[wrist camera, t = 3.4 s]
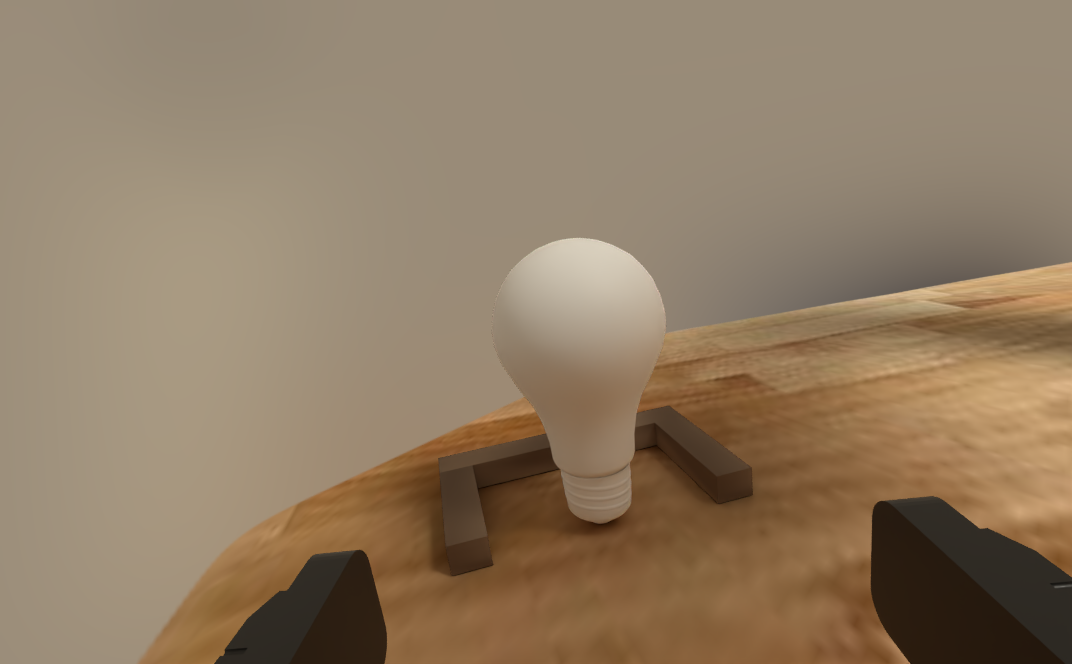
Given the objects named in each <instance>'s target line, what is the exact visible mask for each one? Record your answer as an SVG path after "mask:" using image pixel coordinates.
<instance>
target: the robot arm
mask: <svg viewBox="0 0 1072 664" xmlns="http://www.w3.org/2000/svg"><path fill="white" fill-rule="evenodd" d="M871 593H872V598H873V602H874V606H875V609H876V612H877V614H878V617H879V619H880V621H881V623H882V625H883V627H884V628H885V630H886V632H887V633H888V635H889V636H890V637H891V639H892V640H893V641H894V643H895V644H896V645H897V647H898V648H899V649H900V651H901V652H902V653H903V654H904V656H905V657H906V658H907V660H908V661H909V662H910V664H1072V577H1070V576H1069V575H1068V574H1066V573H1065V572H1064V571H1062V570H1061V569H1059V568H1058V567H1057V566H1055V565H1054V564H1053V563H1051V562H1050V561H1049V560H1047V559H1046V558H1045V557H1043V556H1042V555H1040V554H1039V553H1038V552H1036V551H1035V550H1033V549H1030V548H1028V547H1026V546H1024V545H1022V544H1020V543H1018V542H1016V541H1013V540H1011V539H1009V538H1007V537H1005V536H1003V535H1001V534H999V533H997V532H994V531H992V530H990V529H988V528H985V529H979V528H978V527H977V526H976V525H974V524H973V523H972V522H970V521H969V520H968V519H967V518H965V517H964V516H963V515H961V514H960V513H959V512H958V511H956V510H955V509H954V508H953V507H951V506H950V505H949V504H947V503H946V502H945V501H943V500H942V499H940V498H938V497H934V496H929V497H919V498H908V499H898V500H888V501H879V502H877V504H876V505H875V506H874V509H873V514H872V551H871ZM386 650H387V633H386V626H385V622H384V618H383V614H382V610H381V606H380V602H379V598H378V594H377V590H376V586H375V582H374V578H373V575H372V571H371V567H370V563H369V560H368V557H367V555H366V554H365V552H363V551H362V550H354V551H344V552H333V553H323V554H315V555H313V556H312V557H311V558H310V559H309V560H308V561H307V563H306V564H305V566H304V567H303V569H302V570H301V571H300V573H299V574H298V576H297V577H296V579H295V580H294V582H293V583H292V585H291V586H290V587H289V589H288V590H287V591H279V592H278V593H277V594H276V595H274V596H273V597H272V598H271V599H270V600H269V601H267V602H266V603H265V604H264V605H263V606H262V607H260V608H259V609H258V610H257V611H256V612H255V613H253V614H252V615H251V616H250V617H249V618H248V619H247V620H246V621H245V623H244V624H243V626H242V627H241V628H240V630H239V631H238V632H237V634H236V635H235V636H234V638H233V639H232V640H231V642H230V643H229V645H228V646H227V647H226V649H225V654H224V656H220V657H219V658H218V659H217V661H216V662H215V664H384V663H385V658H386Z"/></svg>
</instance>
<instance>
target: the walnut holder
mask: <svg viewBox="0 0 1072 664" xmlns="http://www.w3.org/2000/svg"><path fill="white" fill-rule="evenodd" d="M634 440H635V450H638V449H642V448H646V447H651V446H655V445H657V446H658V447H659V448H660V449H661V450H663V451H664V452H665V453H666V454H667V455H668V456H669V457H670V458H671V459H672V460H673V461H674V462H675V463H676V464H677V465H678V466H679V467H680V468H681V469H683V470H684V471H685V472H686V473H687V474H688V475H689V476H690V477H691V478H692V479H693V480H694V481H695V482H696V483H697V484H698V485H699V486H700V487H701V488H702V489H704V490H705V491H706V492H707V493H708V494H709V495H710V496H711V497H712V498H713V499H714V500H715V501H716V502H717V503H718V504H720V503H723V502H727V501H731V500H734V499H738V498H742V497H745V496H749V495H753V491H752V467H750V466H749V465H748V464H746V463H745V462H744V461H742V460H741V459H740V458H738V457H737V456H736V455H734V454H733V453H732V452H730V451H729V450H728V449H726V448H725V447H724V446H722V445H721V444H720V443H718V442H717V441H715V440H714V439H713V438H711V437H710V436H709V435H707V434H706V433H705V432H703V431H702V430H701V429H699V428H698V427H697V426H695V425H694V424H693V423H691V422H690V421H689V420H687V419H686V418H685V417H683V416H682V415H681V414H679V413H678V412H677V411H675V410H674V409H673V408H671V407H670V406H665V407H661V408H656V409H652V410H647V411H643V412H639V413H636V422H635V431H634ZM438 460H439V472H440V484H441V497H442V509H443V521H444V534H445V546H446V551H447V556H448V561H449V566H450V570H451V575H452V576H453V575H457V574H461V573H464V572H468V571H472V570H475V569H479V568H483V567H487V566H490V565H493V561H492V556H491V551H490V545H489V540H488V535H487V530H486V526H485V521H484V516H483V512H482V507H481V503H480V498H479V493H478V489H477V488H481V487H485V486H489V485H494V484H498V483H502V482H506V481H510V480H514V479H518V478H523V477H527V476H531V475H535V474H539V473H543V472H547V471H551V470H556V469H560V468H558V467H557V465H556V464H555V462H554V460H553V456H552V452H551V447H550V442H549V440H548V437H547V434H542V435H538V436H534V437H529V438H525V439H520V440H516V441H512V442H507V443H503V444H498V445H494V446H490V447H485V448H481V449H477V450H472V451H468V452H463V453H459V454H455V455H450V456H446V457H442V458H438Z"/></svg>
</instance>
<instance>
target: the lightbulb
mask: <svg viewBox="0 0 1072 664" xmlns="http://www.w3.org/2000/svg"><path fill="white" fill-rule="evenodd" d="M665 330H666V318H665V310H664V306H663V302H662V299H661V296H660V293H659V291H658V289H657V287H656V285H655V283H654V281H653V278H652V277H651V276H650V274H649V273H648V272H647V271H646V269H645V268H644V267H643V266H642V265H641V264H640V263H639V262H638V261H637V260H636V259H635V258H634V257H633V256H631V255H630V254H629V253H627V252H625V251H623V250H621V249H620V248H618V247H616V246H614V245H611V244H608V243H605V242H603V241H600V240H594V239H586V238H572V239H564V240H559V241H554V242H551V243H549V244H547V245H544V246H542V247H540V248H537V249H536V250H534V251H533V252H531V253H530V254H529V255H527V256H526V257H524V258H523V259H522V260H521V261H520V262H519V263H518V264H517V265H516V266H515V267H514V268H513V269H512V270H511V271H510V272H509V274H508V276H507V277H506V279H505V280H504V282H503V283H502V285H501V288H500V290H499V292H498V294H497V297H496V300H495V305H494V310H493V316H492V335H493V342H494V347H495V350H496V352H497V355H498V357H499V359H500V362H501V364H502V366H503V367H504V369H505V370H506V372H507V373H508V375H509V376H510V377H511V379H512V380H513V382H514V383H515V384H516V386H517V387H518V389H519V390H520V391H521V392H522V394H523V395H524V396H525V397H526V399H527V400H528V401H529V402H530V403H531V405H532V406H533V407H534V409H535V411H536V413H537V414H538V416H539V418H540V420H541V422H542V423H543V426H544V429H545V431H546V434H547V437H548V440H549V442H550V447H551V452H552V456H553V460H554V462H555V464H556V465H557V467H558V468H560V469H561V477H562V479H563V486H564V488H565V496H566V498H567V503H568V508H569V509H570V511H571V512H572V513H573V514H574V515H576V516H577V517H579V518H580V519H583V520H586V521H590V522H594V523H598V524H603V523H607V522H609V521H611V520H613V519H615V518H618V517H620V516H621V515H623V514H624V513H625V512H626V511H627V509H628V508H629V506H630V505H631V495H632V490H631V478H630V476H631V469H630V462H631V460H632V459H633V456H634V452H635V440H634V431H635V422H636V413H637V410H638V406H639V403H640V399H641V396H642V393H643V391H644V389H645V387H646V385H647V383H648V381H649V379H650V377H651V375H652V372H653V370H654V367H655V365H656V362H657V360H658V357H659V355H660V352H661V350H662V347H663V343H664V337H665Z"/></svg>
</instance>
